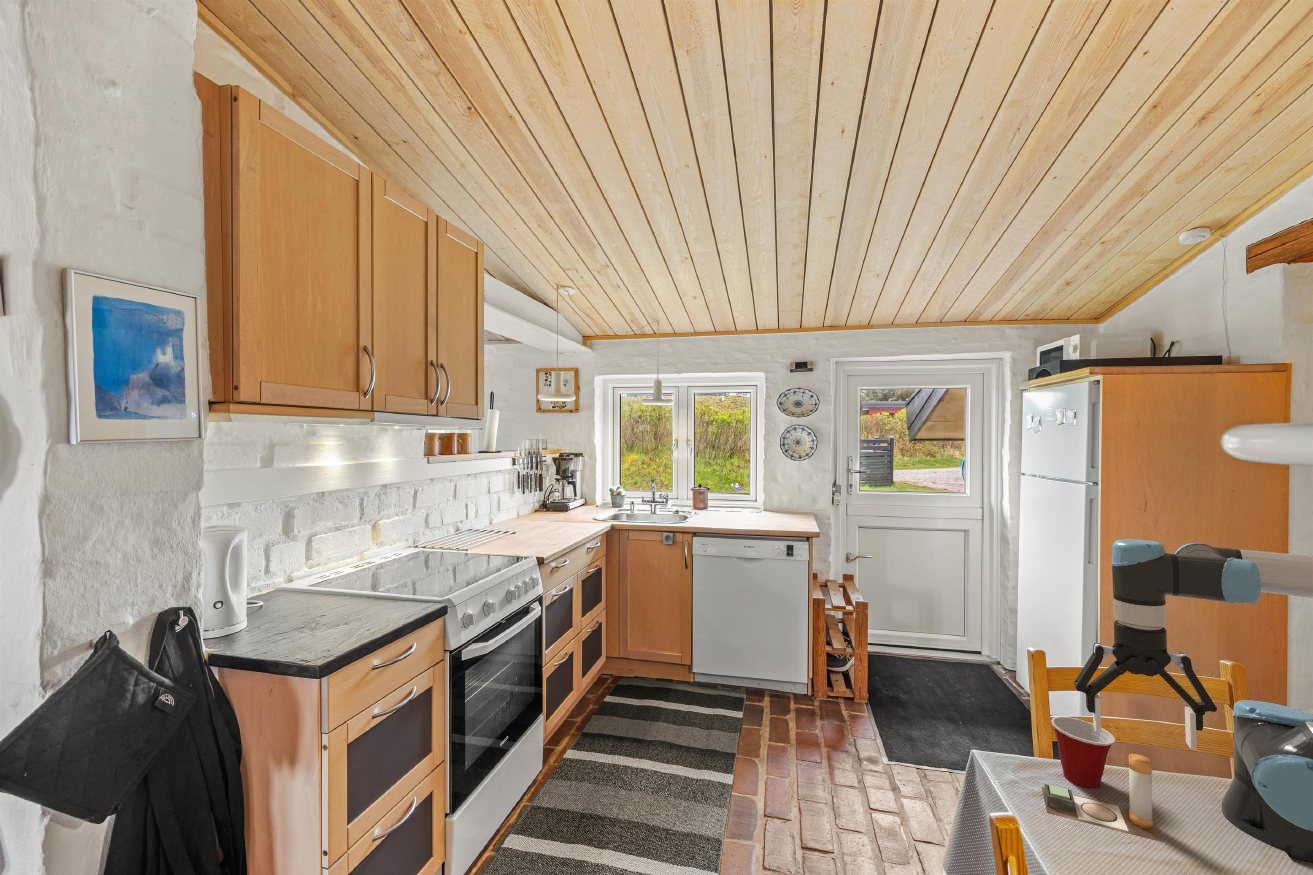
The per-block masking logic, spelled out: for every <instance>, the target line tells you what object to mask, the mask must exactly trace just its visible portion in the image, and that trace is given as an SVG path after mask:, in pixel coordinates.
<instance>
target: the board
mask: <svg viewBox="0 0 1313 875" xmlns="http://www.w3.org/2000/svg"><path fill="white" fill-rule="evenodd" d="M1049 785H1050V784H1048V783H1044V785H1043V786H1044V787H1042V786H1041V791H1042V796H1043V800H1044V805H1045V809H1046V813H1047V814H1050V815H1055V816H1059V817H1062V818H1067V819H1070V820H1073V821H1074V820H1075V821H1078V822H1082V823H1087V824H1090V825H1093V826H1098V827H1103V828H1105V829H1110V830H1113V831H1118V832H1121V833H1125V834H1130V835H1132V836H1136V837H1141V838H1145V839H1149V840H1152V841H1157V842H1161V843H1163V841H1162V838H1161V837H1160V835H1159V833H1158V831H1157V828H1156V826H1155V824H1154V823H1153V827H1152V828H1151V829H1145V828H1141V827H1138V826H1136V825H1134V824H1133V823H1132V822H1131V821H1130V820H1129V810H1130V807H1128V806H1123V805H1119V804H1114V803H1112V802H1111V803H1110V802H1105V801H1103V800H1099V799H1093V798H1090V797H1085V796H1081V795H1077V794H1073V792H1072V789H1068V788H1066V789H1067V790H1068V793H1069V796H1070V800H1067V799H1063V798H1059V797H1054V796H1050V795H1049Z"/></svg>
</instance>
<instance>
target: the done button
mask: <svg viewBox="0 0 1313 875" xmlns="http://www.w3.org/2000/svg"><path fill="white" fill-rule="evenodd" d="M1048 785H1049V795H1050V796H1054V797H1059V798H1063V799H1067V800H1070V796H1069V793H1068V790H1067V789H1068V788H1064V787H1060V786H1055V785H1051V784H1048Z"/></svg>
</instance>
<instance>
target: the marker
mask: <svg viewBox="0 0 1313 875" xmlns="http://www.w3.org/2000/svg"><path fill="white" fill-rule="evenodd" d="M1128 769H1129V770H1128V773H1129V774H1128V777H1129V778H1128V779H1129V783H1128V785H1129V787H1128V788H1129V789H1128V790H1129V808H1130V810H1129V820H1130V821H1131V822H1132V823H1133V824H1134V825H1136V826H1138V827H1141V828H1145V829H1151V828H1152V827H1153V824H1154V822H1153V819H1154V818H1153V785H1152V784H1153V782H1152V780H1153V779H1152V777H1153V776H1152V774H1153V762H1152V760H1151V759H1150V758H1149V757H1147V756H1146V755H1145V756H1144V755H1142V754H1137V753H1129V754H1128Z"/></svg>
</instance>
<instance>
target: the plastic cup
mask: <svg viewBox="0 0 1313 875" xmlns="http://www.w3.org/2000/svg"><path fill="white" fill-rule="evenodd" d="M1050 722H1051V724H1052V726H1053V729H1054V733H1055V738H1056V742H1057V749H1058V754H1059V759H1060V760H1059V761H1060V763H1061V764H1060V765H1061V767H1062V773H1063V776H1064V778H1065V779H1066V780H1067V781H1068V782H1069V783H1071V784H1073V785H1076V786H1078V787H1081V788H1084V789H1088V790H1089V789H1091V790H1093V789H1096V790H1097V789H1099V788H1100V786H1101V782H1102V777H1103V775H1104V770H1105V766H1106V762H1107V758H1108V754H1109V751H1110V749H1111V746H1112V745H1114V743H1115V741H1116V737H1115V736H1114V735H1113V734H1112V733H1111V732H1110V731H1107V730H1106V729H1105V728H1103V727H1101V733H1097V732H1096V731H1095V728H1094V726H1093V723H1092V722H1088V721H1086V720H1082V719H1080V718H1075V717H1070V716H1054V717H1053V718H1052V719H1051V720H1050Z"/></svg>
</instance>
